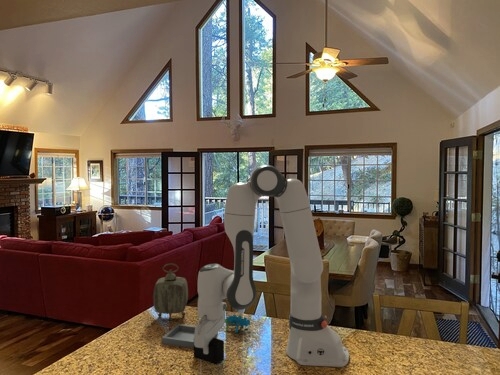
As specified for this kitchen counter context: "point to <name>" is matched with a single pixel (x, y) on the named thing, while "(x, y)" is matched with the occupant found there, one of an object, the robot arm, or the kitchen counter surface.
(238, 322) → the blue lumpy piece
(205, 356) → the digital camera
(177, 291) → the tabletop clock
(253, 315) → the kitchen counter surface
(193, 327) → the tray
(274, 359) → the kitchen counter surface
